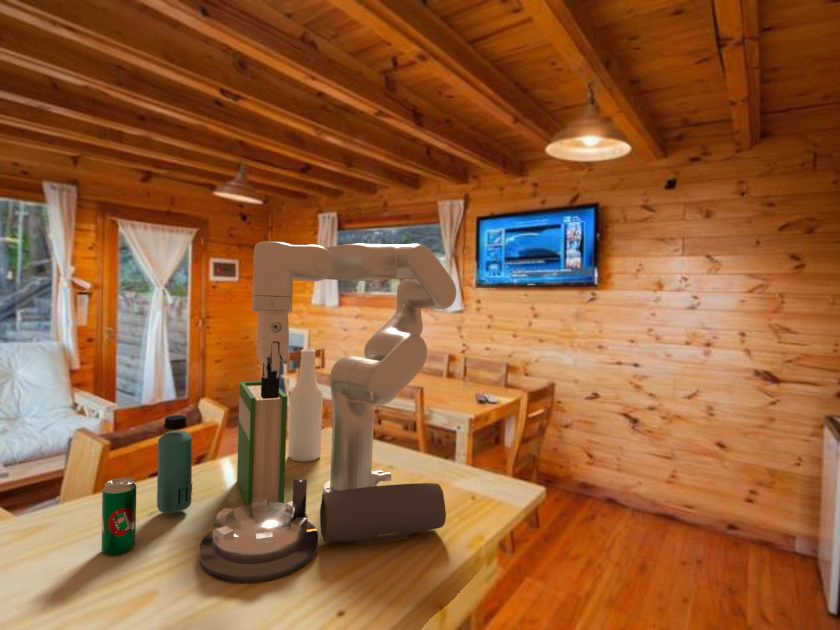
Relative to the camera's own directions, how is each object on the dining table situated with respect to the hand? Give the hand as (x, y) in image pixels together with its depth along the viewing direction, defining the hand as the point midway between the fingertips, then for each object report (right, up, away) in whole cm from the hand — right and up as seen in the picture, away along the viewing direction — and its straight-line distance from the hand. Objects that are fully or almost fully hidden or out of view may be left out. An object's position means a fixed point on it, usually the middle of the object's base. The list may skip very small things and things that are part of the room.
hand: (269, 397), depth 97 cm
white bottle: (-2, -23, +39) cm, 45 cm away
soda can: (-23, -25, -11) cm, 36 cm away
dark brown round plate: (+1, -26, -10) cm, 27 cm away
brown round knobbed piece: (+1, -24, -10) cm, 25 cm away
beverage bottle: (-20, -24, +3) cm, 32 cm away
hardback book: (-7, -24, +14) cm, 29 cm away
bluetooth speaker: (+23, -27, -3) cm, 35 cm away
